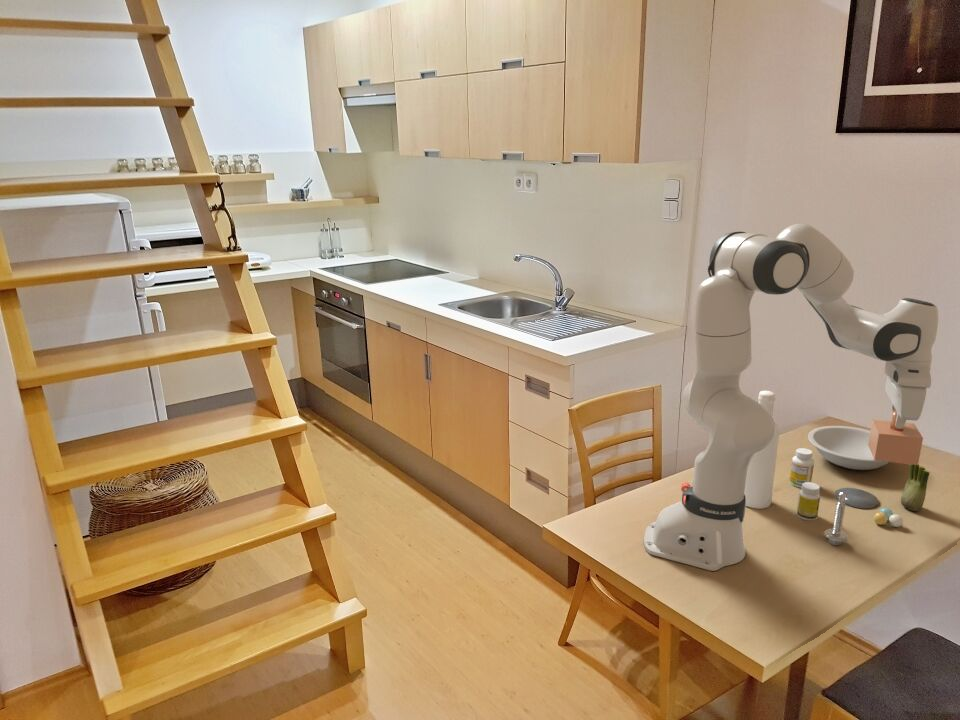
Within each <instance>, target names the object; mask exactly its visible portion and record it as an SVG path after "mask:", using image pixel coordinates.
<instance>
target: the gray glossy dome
mask: <svg viewBox="0 0 960 720" xmlns="http://www.w3.org/2000/svg"><path fill="white" fill-rule="evenodd" d="M842 492H843V493H845V506H849V507H851V508H856V509H862V510H863V509H865V510H868V509H874V508H876V507H877V506H879V505H878V504H879V499H878V498H877V496H876V495H875V494H872V493H871V492H868V491H866V490H863V489H859V488H856V487H841V488H839V489H837V490H835V492H834V497H835V499H836V500H837V501H838V498H839V494H840V493H842Z"/></svg>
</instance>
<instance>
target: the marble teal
mask: <svg viewBox="0 0 960 720" xmlns="http://www.w3.org/2000/svg"><path fill="white" fill-rule="evenodd" d="M878 512H881V513H884V514H885V515H886V516H887V518H888V520H887V521H889V517H890V516H891V515H893V511H892V510H891V509H890V508H888V507H881V508H880V509H879V510H878Z"/></svg>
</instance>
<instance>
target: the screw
mask: <svg viewBox="0 0 960 720" xmlns="http://www.w3.org/2000/svg"><path fill="white" fill-rule="evenodd" d="M835 505H836V506H835V511H834V512H835V513H834V518H833V523H832V528H828V529H826V530H825V531H824V533H823V534H824V536H825V537H826V538H828V543H829V544H831V545H833V546H841V545H842V542H845V541H847V540H848V538H849V536H848V534H847V533H846V532H844V531H843V530H842V529H843V521H844V515H845V508H846V505H845V493H843V492H842V493H840V494H839V498H838V500H837V501H836V504H835Z"/></svg>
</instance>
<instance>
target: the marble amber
mask: <svg viewBox="0 0 960 720" xmlns="http://www.w3.org/2000/svg"><path fill="white" fill-rule="evenodd" d="M873 521H874V522H875V523H876V524H877V525H879V526H884V525H886V523H887V522H888V521H889V520H888V518H887V516H886V515H885V514H884V513H881V512H879V511H877V512H876V513H875V514H873Z"/></svg>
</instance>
